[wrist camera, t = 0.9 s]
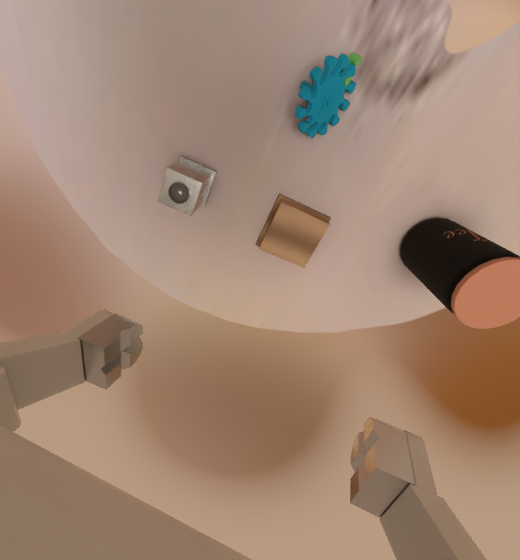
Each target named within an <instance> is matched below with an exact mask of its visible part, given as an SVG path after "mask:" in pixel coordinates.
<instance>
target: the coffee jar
mask: <svg viewBox="0 0 520 560" xmlns="http://www.w3.org/2000/svg"><path fill="white" fill-rule="evenodd" d="M401 258H402V261H403V263H404V265H405V266H406V267H407V268H408V269H409V270H410V271H411V272H412V273H413V274H414V275H415V276H416V277H417V278H418V279H419V280H420V281H421V282H422V283H423V284H424V285H425V286H426V287H427V288H428V289H429V290H430V291H431V292H432V293H433V294H434V295H435V296H436V297H437V298H438V299H439V300H440V301H441V302H442V303H443V304H444V305H445V307H447V308H448V309H449V310H450V311H451V312H452V313H453V314H454V315H455V316H456V317H457V318H458V319H459V320H460V321H461V322H462V323H463V324H465V325H467V326H470V327H472V328H481V329H487V328H494V327H499V326H501V325H504V324H507V323H509V322H512V321H513V320H515V319H516V318H518V317H520V257H519V256H518V255H516V254H514V253H513V252H511V251H509V250H507V249H505V248H503V247H501V246H499V245H497V244H495V243H493V242H491V241H490V240H488V239H486V238H484V237H482V236H480V235H478V234H476V233H474V232H472V231H470V230H468V229H467V228H465V227H463V226H461V225H459V224H457V223H455V222H453V221H451V220H449V219H441V218H436V219H431V220H427V221H425V222H423V223H421V224H419V225H417V226H416V227H414V228H413V229H412V230H411V231H410V232H409V233H408V235H407V236H406V237H405V239H404V241H403V244H402V247H401Z"/></svg>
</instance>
